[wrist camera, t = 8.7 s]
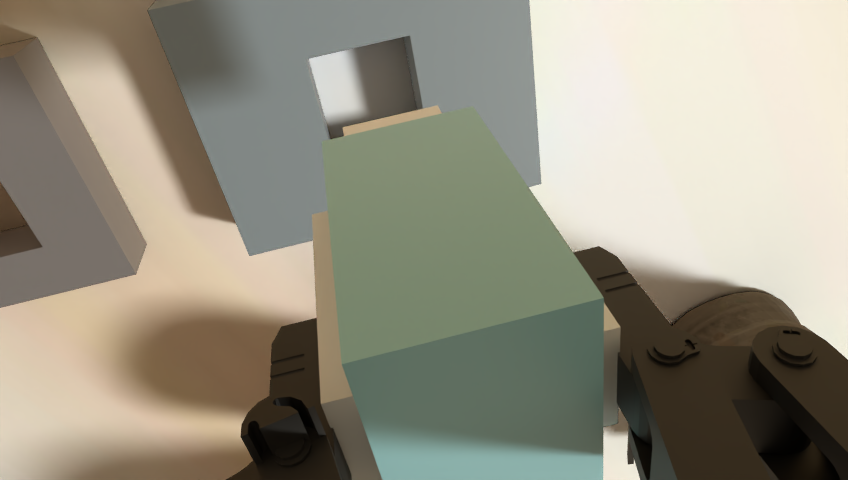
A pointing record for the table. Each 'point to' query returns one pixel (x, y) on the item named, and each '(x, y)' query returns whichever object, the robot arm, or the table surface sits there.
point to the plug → (460, 307)
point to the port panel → (298, 97)
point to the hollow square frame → (55, 188)
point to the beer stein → (737, 318)
